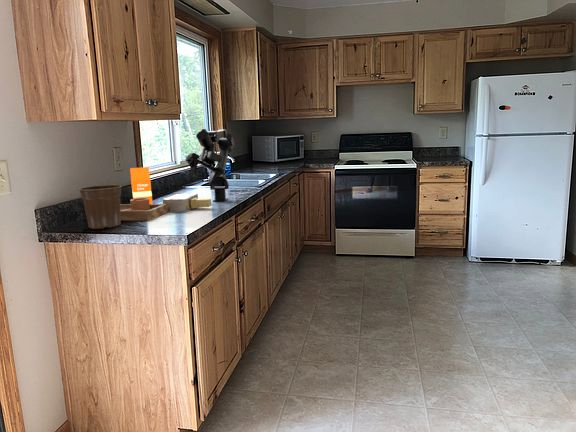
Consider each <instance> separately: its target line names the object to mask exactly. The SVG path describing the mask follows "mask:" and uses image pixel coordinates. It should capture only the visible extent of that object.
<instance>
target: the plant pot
mask: <svg viewBox="0 0 576 432" xmlns="http://www.w3.org/2000/svg"><path fill="white" fill-rule="evenodd" d="M122 187H123V185H120V184H105V185H93V186H91V185H90V186H85V187H84V186H83V187H80V188H78V191H79V192H80V197H81V200H82V202H83V206H84V211H85V217H86V219H87V225H88V228H89V229H92V230H93V229H94V230H100V229H105V228H108V229H110V228H116V227H118V226H120V225H121V224H122V223H121V221H122V220H121V219H120V204H121V197H122Z"/></svg>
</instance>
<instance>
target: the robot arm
mask: <svg viewBox="0 0 576 432" xmlns="http://www.w3.org/2000/svg"><path fill="white" fill-rule="evenodd" d="M196 139H197V141H198V143H199V144H200V147H202V148H201V153H200V154H197V153H196V152H193V151H192V152H190V153H189V154H188V155H186V157H185V162H187V164H188V165H189V167H190V169H191V172H192V175H193V177H195V176H196V174H197V171H198V170H197V169H198V164H199V165H201V166H202V167H204V168H206V169H208V170H209V171H210V175H209V179H208V182H209V188H210V190H211V191H212V190H213V191H214V192H213V193H214V199H213V200H212V202H225V201H227V200H229V198H227V196H226V195H227V194H226V190H228V189H230V188H229V187H230V185H229V182H228V179H227V176H226V174H225V172H226V166H227V163H228V159H229V154H230V153H231V152H232V151H233V149H234V147H235V139H234V137H233V136H232V135H231V134H230V133H228V131H227V129H218V130H217V129H216V130H208V131H207V129H206V128H202V129H201V130H199V131H198V132H197V134H196ZM215 144H216V145H217V146H218V149H219V153H216V145H215ZM214 164H216V166H213V165H214Z"/></svg>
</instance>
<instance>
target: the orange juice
mask: <svg viewBox="0 0 576 432" xmlns="http://www.w3.org/2000/svg"><path fill="white" fill-rule="evenodd" d="M130 181H131V191H132V199H136V198H149V202H150V204H154V202H153V193H152V183H151V176H150V169H149V166H145V167H130Z"/></svg>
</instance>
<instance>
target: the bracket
mask: <svg viewBox="0 0 576 432" xmlns="http://www.w3.org/2000/svg"><path fill="white" fill-rule="evenodd" d="M129 201H130V202H129V203H130V204H131V208H130V209H125V210H120V211H148V210H150V202H149V198H136V199H133V198H131V199H130V200H129Z"/></svg>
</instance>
